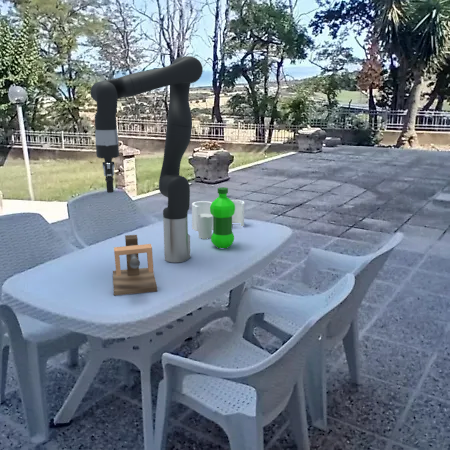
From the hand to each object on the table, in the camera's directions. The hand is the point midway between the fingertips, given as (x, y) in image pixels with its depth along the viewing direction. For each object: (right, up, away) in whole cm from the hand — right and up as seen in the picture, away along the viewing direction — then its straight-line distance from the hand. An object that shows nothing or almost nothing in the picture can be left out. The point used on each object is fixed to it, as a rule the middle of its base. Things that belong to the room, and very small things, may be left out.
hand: (110, 189), depth 167 cm
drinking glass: (+31, -18, +46) cm, 59 cm away
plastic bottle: (+39, -22, +34) cm, 56 cm away
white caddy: (+37, -14, +61) cm, 73 cm away
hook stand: (+10, -33, -5) cm, 35 cm away
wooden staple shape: (+10, -28, -9) cm, 31 cm away
